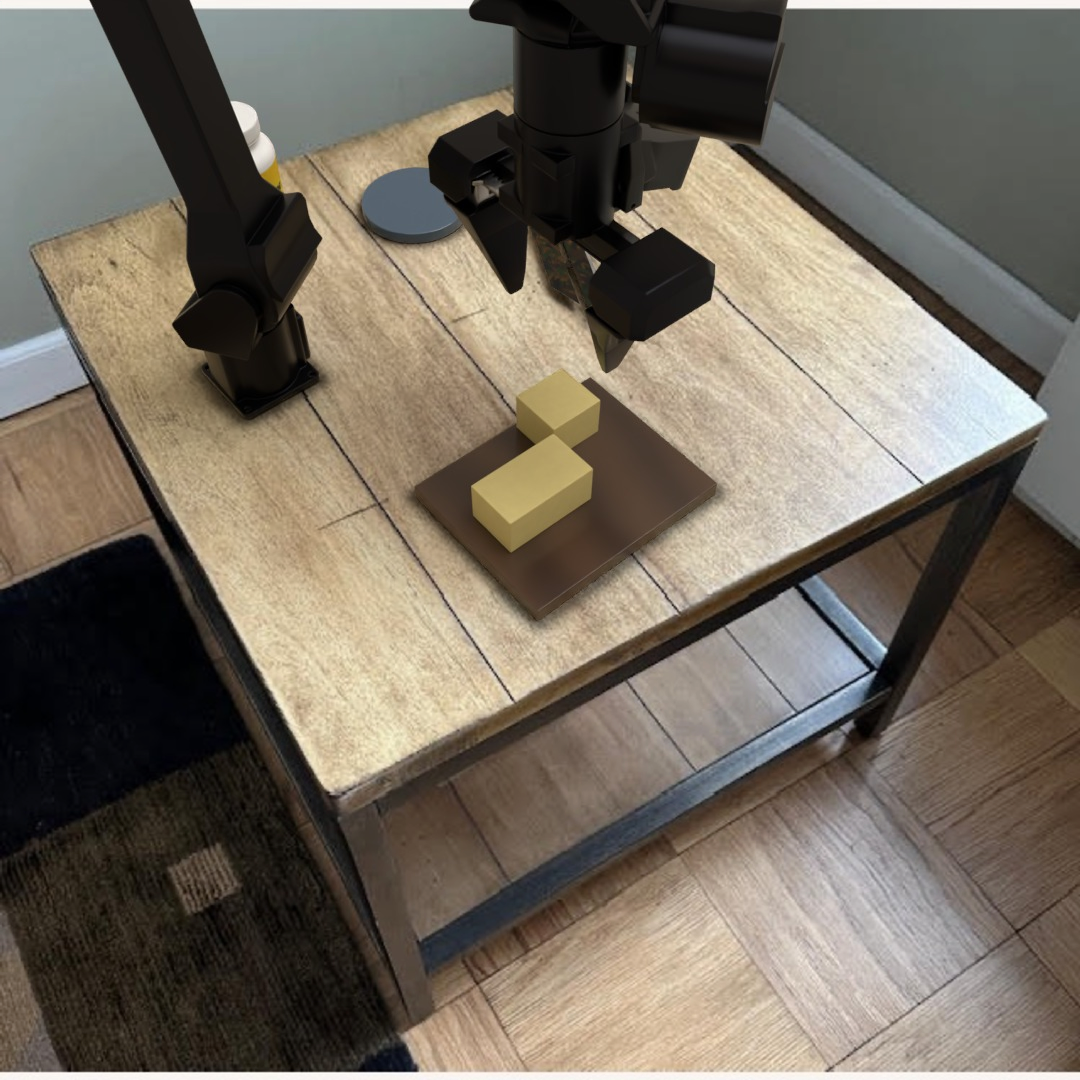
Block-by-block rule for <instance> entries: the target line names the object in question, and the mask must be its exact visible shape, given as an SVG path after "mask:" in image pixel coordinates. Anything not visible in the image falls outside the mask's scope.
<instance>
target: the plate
mask: <svg viewBox="0 0 1080 1080" xmlns="http://www.w3.org/2000/svg"><path fill="white" fill-rule="evenodd" d="M443 194H444V193H443V192H441V191H440V190H439V189H438V188H436V187H435V186H434V185H433V184H431V183H430V177H429V167H423V166H417V167H416V166H414V167H413V166H411V167H404V168H399V169H394V170H392V171H388V172H387V173H384V174H382V175H380V176H378V177H377V178H376V179H374V180H373V181H372V182H370V184H369V185H368V186H367V187H366V189H365V190H364V192H363V194H362V196H361V212H362V217H363V219H364V221H365V223H366V225H367V226H368V228H369V229H370V230H371V231H373V233H375V234H377V235H378V236H380V237H382V238H384V239H386V240H389V241H393V242H397V243H401V244H402V243H403V244H423V243H430V242H434V241H437V240H440V239H443V238H445V237H447V236H449V235H451V234H453V233H454V232H455V231H457V230H458V229H459V228H460V227H461V226H462V225H463V224H462V222H461V221H460V220H459V218H458V217H457V215H456V214H455V212H454V211H453V209H452V208H451V207H450V206H449V205H448V204H447V203H446V202H445V200H444V196H443Z"/></svg>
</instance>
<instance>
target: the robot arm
mask: <svg viewBox="0 0 1080 1080" xmlns="http://www.w3.org/2000/svg"><path fill="white" fill-rule="evenodd" d="M88 1H89V3H90V5H91V8H92V9H93V12H94V15H95V16H96V18H97V20H98V23H99V24H100V27H101V28H102V31H103V32H104V35H105V37H106V40H107V41H108V43H109V45H110V48H111V50H112V52H113V54H114V56H115V58H116V60H117V62H118V64H119V67H120V69H121V71H122V73H123V76H124V78H125V79H126V81H127V85H128V86H129V88H130V90H131V93H132V95H133V97H134V98H135V99H134V100H136V103H137V106H138V107H139V109H140V111H141V113H142V115H143V118H144V120H145V122H146V124H147V126H148V128H149V131H150V132H151V135H152V137H153V139H154V141H155V143H156V146H157V147H158V150H159V152H160V154H161V156H162V158H163V160H164V162H165V164H166V166H167V168H168V171H169V173H170V175H171V177H172V179H173V181H174V183H175V186H176V188H177V190H178V192H179V194H180V196H181V198H182V201H183V202H184V206H185V210H186V223H185V225H186V227H185V229H186V237H185V238H186V239H185V261H186V264H187V266H188V267H187V268H188V270H189V274H190V277H191V280H192V283H193V286H194V289H195V290H194V291H193V293H192V294H191V296H190V297H189V298H188V300H187V301H186V302H185V304H184V305H183V306H182V308H181V310H180V311H179V313H178V314H177V315H176V317H175V318H174V320H173V321H172V322H171V327H172V328H173V329H174V331H175V332H176V334H177V335H178V336H179V338H180V339H181V341H182V342H183V343H184V345H185V346H186V347H187V348H190V349H193V350H198V351H201V352H203V353H204V356H205V360H206V363H204V364H203V365H202V366H201V372H202V373H203V375H204V376H205V377H206V378H207V379H208V380H209V382H210V383H211V384H212V385H213V387H215V388H216V389H217V390H218V391H219V393H220V394H221V395H222V396H223V397H224V398H225V399H226V400H227V401H228V402H229V404H230V405H231V406H232V407H233V408H234V409H235V411H237V412H238V413H239V414H240V415H241V417H243V418H244V419H247V420H248V419H252V418H254V417H255V416H258V415H259V414H261V413H264V412H265V411H267V410H269V409H271V408H272V407H274V406H276V405H278V404H279V403H281V402H283V401H285V400H287V399H289V398H291V397H292V396H294V395H296V394H297V393H300V392H302V391H303V390H305V389H306V388H309V387H311V386H312V385H314V384H316V383H317V382H319V380H320V378H321V376H320V372H319V371H318V370H317V369H316V368H315V367H314V365H312V364H311V362H309V361H308V360H309V359H311V355H312V352H311V347H310V343H309V339H308V335H307V330H306V326H305V325H306V324H305V322H304V317H303V315H302V314H301V313H299V311H298V310H296V309H295V305H294V304H293V300H294V299H295V297H296V295H297V294H298V292H299V290H300V289H301V287H302V286H303V284H304V283H305V281H306V279H307V277H308V276H309V274H310V272H311V271H312V269H313V268H314V266H315V264H316V262H317V260H318V248H319V246H320V244H321V243H322V241H323V236H322V235H321V234H320V233H319V231H318V230H317V229H316V227H315V225H314V223H313V221H312V219H311V216H310V213H309V208H308V204H307V199H306V197H305V195H304V194H303V193H302V192H300V191H295V192H288V193H285V192H284V191H283V192H282V191H281V190H279V189H278V188H276V187H275V186H274V185H272V184H271V183H269V182H268V181H267V180H265V179H264V178H262V177H261V175H260V173H259V171H258V169H257V167H256V164H255V162H254V159H253V157H252V154H251V152H250V149H249V147H248V144H247V142H246V139H245V137H244V134H243V132H242V129H241V127H240V124H239V122H238V119H237V117H236V114H235V112H234V109H233V107H232V104H231V102H230V101H231V99H230V97H229V94H228V92H227V89H226V87H225V84H224V82H223V79H222V76H221V75H220V72H219V69H218V66H217V65H216V62H215V59H214V57H213V53H212V52H211V49H210V47H209V45H208V42H207V40H206V39H207V38H206V37H205V35H204V32H203V30H202V27H201V24H200V22H199V19H198V17H197V14H196V11H195V10H194V7H193V5H192V2H191V0H88ZM788 2H789V0H472V2H471V3H470V5H469V8H468V15H469V17H470V18H471V19H472V20H473V21H476V22H483V23H487V24H488V23H489V24H495V25H501V26H507V27H511V28H512V72H513V73H512V84H513V85H512V92H513V95H512V96H513V105H512V107H513V113H510V114H509V115H506V114H505V113H504V112H502V111H500V110H499V109H498V108H496V109H494V110H491V111H490V112H487V113H486V114H483V115H481V116H479V117H477V118H475V119H473V120H471V121H469V122H467V123H465V124H462V125H460V126H458V127H456V128H454V129H452V130H450V131H448V132H445V133H443V134H442V135H440V136H439V135H438V137H437V139H436V140H435V142H434V144H433V145H432V147H431V148H430V150H429V152H428V155H427V165H428V168H429V177H430V183H431V184H433V185H434V186H435V187H436V188H438V189H439V190H440V191H441V192H443V193H444V194H443V196H444V200H445V202H446V203H447V204H448V205H449V206H450V207H451V208H452V209H453V211H454V212H455V214H456V215H457V217H458V218H459V220H460V221H461V222H462V225H463V227H464V228H465V229H466V231H467V234H468V235H469V236H470V237H471V239H472V240H473V242H474V243H475V245H476V246H477V248H478V249H479V251H480V253H482V255H483V257H484V259H485V260H486V261H487V263H488V265H489V266H490V268H491V269H492V272H493V273H494V274H495V276H496V278H497V279H498V281H499V282H500V284H501V285H502V287H503V288H504V291H506V293H508V294H509V295H513V294H516V293H517V292H519V291H521V290H522V289H523V287H524V282H525V277H526V270H527V255H528V236H529V228H530V227H531V228H532V229H534V230H535V231H536V232H538V233H539V234H540V235H541V236H543V237H544V238H545V239H547V240H548V241H549V242H550V243H552V244H553V245H554V246H555V245H557V244H558V245H559V244H561V243H563V241H564V240H566V239H570V240H571V241H572V242H574V243H575V244H576V245H578V246H579V247H580V248H582V249H583V250H584V251H586V252H587V253H588V254H589V255H590V257H592V258H593V259H595V260H596V261H597V262H599V263H600V264H599V265H598V267H597V268H596V269H595V271H596V272H595V273H594V275H593V276H592V278H591V279H590V281H589V289H588V298H589V300H590V302H591V304H592V306H590V307H588V308H587V307H586V308H585V309H584V314H585V318H586V322H587V325H588V329H589V332H590V336H591V341H592V343H593V344H592V345H593V348H594V351H595V354H596V359H597V361H598V364H599V366H600V369H601V371H602V372H603V373H604V374H609V373H611V372H612V371H614V370H615V369H617V368H618V367H619V366H620V365H621V363H622V362H623V360H624V359H625V357H626V355H627V354H628V352H629V351H630V349H631V348H632V346H633V344H634V343H635V342H642V343H644V342H646V341H648V340H649V339H651V338H653V337H654V336H656V335H657V334H659V333H661V332H662V331H664V330H665V329H667V328H669V327H670V326H672V325H674V324H675V323H677V322H678V321H680V320H681V319H683V318H684V317H686V316H688V315H690V314H691V313H693V312H694V311H696V310H698V309H699V308H701V307H702V306H704V305H706V304H708V303H709V302H710V301H712V296H713V292H714V291H713V290H714V285H715V281H716V280H715V279H716V263H714V262H713V261H711V260H710V259H709V258H707V257H706V256H705V255H703V254H702V253H700V252H699V251H697V250H696V249H694V248H693V247H692V246H690V245H689V244H687V243H686V242H685V241H684V240H682V239H680V238H679V237H678V236H676V235H675V234H673V233H672V232H671V231H669V230H667V229H666V228H665V227H663V226H661V227H659V228H657V229H656V230H654V231H652V232H650V233H648V234H646V235H645V236H644V237H642V238H639V237H638V236H637V235H636V234H634V232H632V231H630V230H629V229H628V228H626V227H625V226H623V224H620V223H619V222H618V221H616V220H615V213H617V212H619V211H622V212H623V213H624V214H629V213H630V212H632V211H634V210H636V209H638V208H639V207H641V206H643V197H644V196H643V195H644V192H651V191H659V190H667V189H669V190H671V191H679V190H681V189H682V187H683V184H684V181H685V179H686V176H687V174H688V171H689V168H690V166H691V163H692V160H693V157H694V155H695V153H696V150H697V148H698V145H699V142H700V140H701V138H706V139H711V140H718V141H723V142H729V143H735V144H741V145H745V146H752V147H758V148H762V146H763V143H764V141H765V137H766V134H767V133H766V132H767V129H768V125H769V123H770V117H771V114H772V109H773V105H774V100H775V97H776V96H775V95H776V91H777V87H778V82H779V78H780V73H781V69H782V64H783V59H784V54H785V49H786V44H787V43H786V42H785V41H783V37H784V32H785V25H786V12H787V7H788ZM629 47H635V56H634V63H633V70H632V78H631V82H630V81H628V80H627V76H628V75H627V72H628V61H629ZM531 228H530V229H531Z"/></svg>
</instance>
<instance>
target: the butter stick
mask: <svg viewBox="0 0 1080 1080" xmlns="http://www.w3.org/2000/svg"><path fill="white" fill-rule="evenodd" d="M592 476H593V468H592V467H590V466H589V465H588V464H587V463H586V462H585V461H584V460H583V459H582V458H580V457H579V456H578V455H577V454H576V453H575V452H574V451H573V450H571V449H570V448H569V447H568V446H567V445H566V444H565V443H564V442H562V441H561V440H560V439H559V438H558V437H557V436H556V435H555V434H552V435H550V436H549V437H547V438H546V439H544V440H542V441H541V442H539V443H538V444H536V445H535V446H533V447H531V448H530V449H528V450H527V451H525V452H524V453H522V454H520V455H519V456H517V457H516V458H514V459H513V460H511V461H509V462H508V463H506V464H505V465H503V466H502V467H500V468H498V469H497V470H495V471H494V472H492V473H491V474H489V475H487V476H486V477H484V478H483V479H481V480H480V481H478V482H476V483H475V484H473V485H472V486H471V492H472V507H473V516H474V517H475V518H476V519H477V520H478V521H479V522H480V523H481V524H482V525H483V526H484V527H485V528H486V529H487V530H488V531H489V532H490V533H491V534H492V535H493V536H494V537H495V538H496V539H497V540H498V541H499V542H500V543H501V544H502V545H503V546H504V547H505V548H506V549H507V550H508V551H509V552H513V551H514V550H516V549H517V548H519V547H520V546H522V545H523V544H525V543H526V542H528V541H529V540H531V539H532V538H533V537H535V536H536V535H538V534H539V533H541V532H542V531H544V530H545V529H547V528H548V527H550V526H551V525H553V524H554V523H556V522H557V521H559V520H560V519H562V518H563V517H564V516H566V515H567V514H569V513H570V512H572V511H573V510H575V509H576V508H578V507H579V506H581V505H582V504H584V503H585V502H587V501H588V500H590V499H591V490H592Z"/></svg>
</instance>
